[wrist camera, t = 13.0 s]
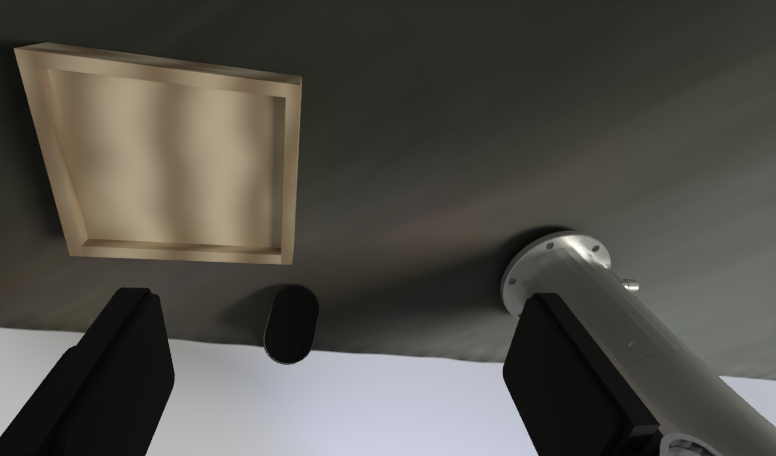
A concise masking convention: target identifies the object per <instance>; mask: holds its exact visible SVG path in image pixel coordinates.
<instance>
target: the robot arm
mask: <svg viewBox="0 0 776 456" xmlns="http://www.w3.org/2000/svg"><path fill="white" fill-rule="evenodd" d="M610 268H611V261H610V256H609V253H608V251H607V249H606V248H605V247H604V245H603V244H602V243H601V242H599V241H598V240H597V239H596V238H595V237H593V236H591V235H589V234H587V233H584V232H580V231H560V232H556V233H552V234H548V235H546V236H543V237H541V238H539V239H537V240H535V241H534V242H532V243H530V244H529V245H527V246H526V247H525V248H524V249H522V250H521V251H520V252H519V253H518V254H517V255H516V256H515V257H514V258H513V259H512V261H511V262H510V263H509V265H508V267H507V268H506V270H505V272H504V275H503V277H502V280H501V286H500V293H501V298H502V301H503V303H504V305H505V307H506V309H507V310H508V311H509V313H510V314H511V315H512V316H513V317H515V318H516V319H518V320H519V322H518V325H517V328H516V331H515V334H514V337H513V339H512V342H511V345H510V348H509V351H508V354H507V357H506V360H505V363H504V366H503V378H504V381H505V383H506V386H507V388H508V390H509V392H510V394H511V397H512V399H513V401H514V403H515V405H516V407H517V410H518V412H519V414H520V416H521V418H522V421H523V422H524V425H525V427H526V429H527V431H528V434H529V436H530V438H531V440H532V442H533V445H534V447H535V449H536V451H537V453H538V455H539V456H776V427H775V426H774V425H773V424H771V423H770V422H769V421H768V420H767V419H765V418H764V417H763V416H762V415H760V414H759V413H758V412H757V411H756V410H755V409H754V408H753V407H751V406H750V405H749V404H748V403H747V402H746V401H745V400H744V399H743V398H742V397H740V396H739V395H738V394H737V393H736V392H735V391H734V390H733V389H732V388H730V387H729V386H728V385H727V384H726V383H725V382H724V381H723V380H722V379H721V378H720V377H719V376H718V375H716V374H715V373H714V372H713V371H712V370H711V369H710V368H709V367H708V366H707V365H706V364H705V363H704V362H703V361H702V360H701V359H700V358H699V357H697V356H696V355H695V354H694V353H693V352H692V351H691V350H690V349H689V348H688V347H687V346H686V345H685V344H684V343H683V342H682V341H681V340H680V339H679V338H678V337H677V336H675V335H674V334H673V333H672V332H671V331H670V330H669V329H668V328H667V327H666V326H665V325H664V324H663V323H662V322H661V321H660V320H659V319H658V318H657V317H656V316H655V315H654V314H653V313H652V312H651V311H650V310H648V309H647V308H646V307H645V306H644V305H643V304H642V303H641V302H640V301H639V300H638V298H637V297H636V296H634V295H633V294H632V293H631V292H636V291H637V290H638V288H639V285H638V282H637V281H636V280H628V279H624V280H621V279H620V278H619V277H618V276H617V275H616V274H615V273H614V272H613V271H612V270H611V269H610ZM174 376H175V374H174V368H173V363H172V358H171V353H170V349H169V344H168V338H167V333H166V328H165V323H164V318H163V313H162V308H161V303H160V298H159V296H158V295H157V294H152V293H151V291H150V289H149V288H120V289H118V290H117V291H116V293H115V294H114V295H113V297H112V298H111V299H110V301H109V302H108V304H107V305H106V306H105V308H104V309H103V310H102V312H101V313H100V314H99V316H98V317H97V318H96V320H95V321H94V322H93V324H92V325H91V326H90V328H89V329H88V330H87V332H86V333H85V334H84V336H83V337H82V339H81V340H80V341H79V343H78V344H77V345H76V346H73V347H71V348H69V349H68V350H67V351H66V352H65V353H64V354H63V355H62V357H61V358H60V359H59V360H58V362H57V363H56V364H55V366H54V367H53V368H52V370H51V371H50V372H49V374H48V375H47V376H46V378H45V379H44V380H43V381H42V383H41V384H40V385H39V387H38V388H37V389H36V391H35V392H34V393H33V395H32V396H31V397H30V399H29V400H28V401H27V403H26V404H25V405H24V406H23V408H22V409H21V410H20V412H19V413H18V415H17V416H16V417H15V418H14V419H13V421H12V422H11V423H10V425H9V426H8V428H7V429H6V430H5V431H4V433H3V434H2V435H1V437H0V456H145V455H146V452H147V450H148V447H149V445H150V443H151V440H152V438H153V435H154V433H155V431H156V428H157V426H158V423H159V421H160V418H161V416H162V413H163V411H164V409H165V406H166V403H167V401H168V399H169V396H170V394H171V391H172V389H173V385H174V379H175V377H174Z"/></svg>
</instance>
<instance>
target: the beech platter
mask: <svg viewBox="0 0 776 456" xmlns="http://www.w3.org/2000/svg"><path fill="white" fill-rule="evenodd" d="M14 51H15V55H16V59H17V62H18V66H19V70H20V73H21V77H22V81H23V84H24V88H25V92H26V96H27V99H28V103H29V107H30V110H31V114H32V118H33V121H34V125H35V129H36V132H37V136H38V140H39V144H40V147H41V151H42V155H43V158H44V162H45V166H46V169H47V173H48V177H49V180H50V184H51V188H52V191H53V195H54V199H55V203H56V206H57V210H58V214H59V217H60V221H61V225H62V228H63V232H64V236H65V239H66V243H67V247H68V251H69V254H70V256H88V257H113V258H137V259H162V260H187V261H211V262H236V263H260V264H285V265H292V259H293V249H294V235H295V214H296V193H297V172H298V152H299V131H300V110H301V90H302V76H296V75H288V74H281V73H273V72H266V71H258V70H251V69H243V68H236V67H228V66H221V65H214V64H206V63H199V62H191V61H184V60H176V59H169V58H161V57H154V56H146V55H139V54H131V53H124V52H116V51H109V50H101V49H94V48H86V47H79V46H71V45H64V44H56V43H49V42H46V43H40V44H35V45H29V46H24V47H18V48H14Z"/></svg>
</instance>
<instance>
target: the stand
mask: <svg viewBox="0 0 776 456" xmlns="http://www.w3.org/2000/svg"><path fill="white" fill-rule="evenodd" d="M318 317H319V303H318V300H317V298H316V296H315V295H314V294H313V293H312V292H311V291H310V290H309V289H307V288H305V287H302V286H298V285H292V286H288V287H285V288H283V289H282V290H280V291H279V292H278V293H277V294H276V296H275V297H274V299H273V301H272V304H271V308H270V312H269V316H268V319H267V323H266V327H265V331H264V336H263V345H264V348H265V351H266V353H267V354H268V356H269V357H270V358H271V359H272V360H274V361H275V362H277V363H280V364H285V365H290V364H294V363H297V362H299V361H301V360H303V359H304V358H305V357H306V356H307V355H308V354H309V352H310V351H311V349H312V346H313V342H314V337H315V332H316V327H317V322H318Z"/></svg>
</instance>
